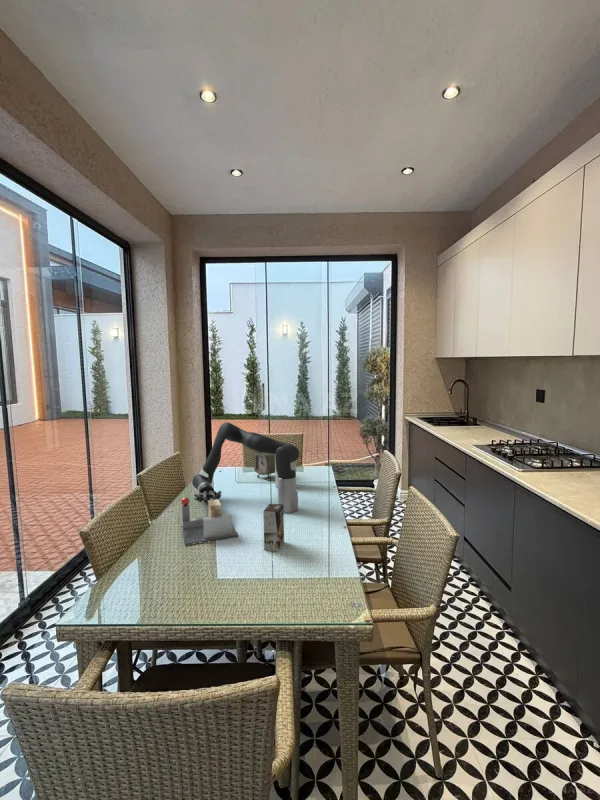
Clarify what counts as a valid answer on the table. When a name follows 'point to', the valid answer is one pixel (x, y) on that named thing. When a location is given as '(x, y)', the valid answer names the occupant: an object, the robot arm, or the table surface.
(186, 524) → the vise slide jaw
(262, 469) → the tabletop clock
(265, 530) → the coffee box
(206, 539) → the vise bed
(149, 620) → the table surface
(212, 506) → the maple block
